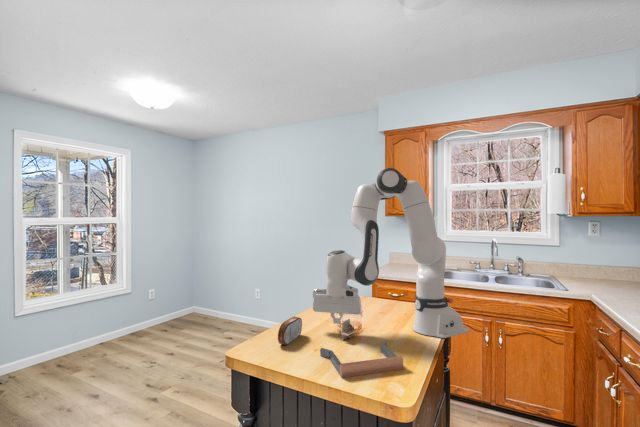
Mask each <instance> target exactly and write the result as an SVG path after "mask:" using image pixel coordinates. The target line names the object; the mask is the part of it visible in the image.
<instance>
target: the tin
mask: <svg viewBox="0 0 640 427" xmlns="http://www.w3.org/2000/svg"><path fill="white" fill-rule="evenodd" d="M302 330H303V320H302V318H301V317H298V316H295V315H294V316H292V317H290V318H288V319H286V320H284V321H283V322H282V323H281V325H280V327H279V329H278V332H277V341H278V342H277V343H278V344H280V345H284V346H288V345H289V344H291V343H292V342H294V341H296V340H297V339H298V338H299V337H300V335H301V333H302Z"/></svg>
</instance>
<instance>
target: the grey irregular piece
mask: <svg viewBox="0 0 640 427" xmlns="http://www.w3.org/2000/svg"><path fill="white" fill-rule="evenodd" d="M357 331H358V329H355V326H354V325H352V324H351V318H348V319H346V320H344V321H341V332H340V334H341V341H344V340H346V339H352V338H353V337H354V338H355V333H356V332H357Z"/></svg>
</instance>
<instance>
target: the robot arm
mask: <svg viewBox="0 0 640 427" xmlns="http://www.w3.org/2000/svg"><path fill="white" fill-rule="evenodd" d="M395 197H396V198H397V199H398V200H399V201H400V204H401V208H402V211H403V214H404V218H405V221H406V224H407V228H408V234H409V240H410V245H411V253H412V258H413V259H414V261H416V262H417V263H418V264H417V265H418V266H417V272H416V275H415V278H416V282H415V284H416V288H415V290H416V292H415V297H414V298H415V300H414V301H415V304H414V305H415V316H414V321H413V325H412V330H413V331H414V332H416V333H418V334H421V335H424V336H430V337H431V336H432V337H437V338H442V339H446V338H451V337H455V336H460V335H463V334H468V333H470V329H469V328H468V327H467V326H466V325H465V324H464V323H463V318H462V316H461V314H459V312H458V311H456V310H455V309H454V308H452V307H451V306H450V305H449V304H453V303H454V299H453V298H450V297H446V296H445V272H446V259H447V258H446V257H447V246H446V243H445V242H444V240H443V239H442V238H440V237H439V236H438V233H437V229H436V223H435V218H434V215H433V211H432V209H431V205H430V202H429V199H428V197H427V194H426V192H425V190H424V188H423V186H422V185H421V183H420V181H416V180H408V179H407V178H406V177H405V176H404V175H403V174H402V173H401V172H400V171H399V170H398V169H397V168H393V167H386V168H384V169H383V170H381V171H380V172H379V173H378V174H377V177H376V180H375V182H374V183H371V184H370V183H364V184H361V185H359V186H358V187H357V189H356V192H355V195H354V198H353V202H352V208H351V212H350V219H351V220H350V221H351V223H352V225H353V226H354V227H355V229H357V230H358V231H359V232H360V234H361V235H362V238H363V239H362V256H361V258H359V257H356V256H354V255H351V254H348V253H347V252H346V251H345V250H342V249H339V250H333V251H330V252H329V253H328V254H327V256H326V263H325V273H326V282H325V289H320V288H316V289H314V290H313V291H312V300H313V301H312V310H313V312H315V313H317V312H318V313H327V314H328V313H329V314H330V318H332V322H333V324H337V325H340V324H341V325H342V318H343V316H344V314H346V315H360V314H361V313H362V300H361V297H360V295H359V288H356V287H354V286H352V285H349V284H348V280H352V281H354V282H357V283H358V284H360V285H362V286H364V287H365V286H366V287H367V286H371V285H373V284H374V283H375V282H376V281H377V280H378V278H379V273H380V267H379V262H378V259H379V258H378V257H379V256H378V255H379V254H378V253H379V240H380V239H379V235H380V232H379V225H378V222H377V221H378V210H379V205H380V201H383V200H390V199H392V198H395ZM335 314H338V316H340V317H339V318H337V317H336V315H335Z"/></svg>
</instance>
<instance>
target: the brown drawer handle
mask: <svg viewBox="0 0 640 427" xmlns="http://www.w3.org/2000/svg"><path fill="white" fill-rule="evenodd" d="M387 345H388V341H387V340H383V341H382V343H381V345H380V353H381V354H383V356H384V357H383V358H376V359H368V360H360V361H351V362H343V363H342V362H341V360H340V359H339V358H338V356H337V355H336V354H335V352H334V351H333V350H330V349H328V348H324V347H321V348H320V349H319V350H320V353H319V354H320V357H322V358H326V359H329V361H330V363H331V364H332V365H333V367H334V369H335V370H336V372H337V373H338V375H339V377H340V378H341V379H342V378H343V379H344V378H350V377H357V376H365V375H371V374H379V373H386V372H393V371H399V370H404V357H402V356H401V355H399V356H398V355H397V354H396V353H395V352H394V351H392V350H391V349H390V348H389V347H388V346H387Z"/></svg>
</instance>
